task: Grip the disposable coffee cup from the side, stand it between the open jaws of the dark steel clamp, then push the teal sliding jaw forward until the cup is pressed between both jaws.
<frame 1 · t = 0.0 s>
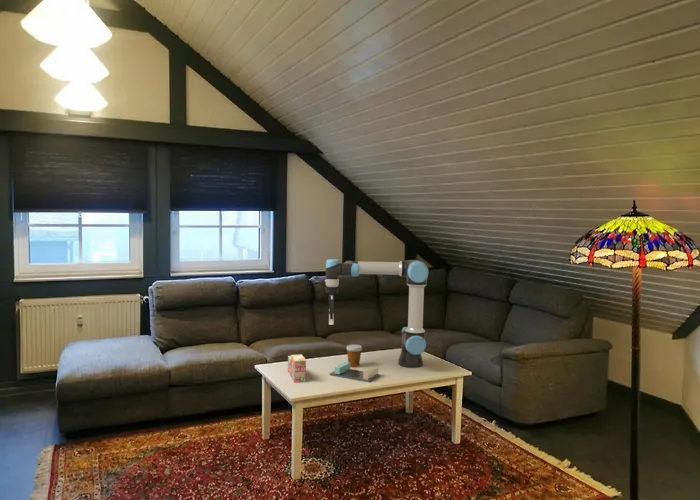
hand: (331, 322, 326), 28 cm above the table, tool pointing down, fingers open, 13 cm apart
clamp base: (358, 376, 316), on the table
stack of blocks: (296, 377, 313), on the table
disposable coffee cup: (353, 366, 337), on the table
sliding jaw: (342, 368, 321), point 3 cm above the table, slide at 5.0 cm
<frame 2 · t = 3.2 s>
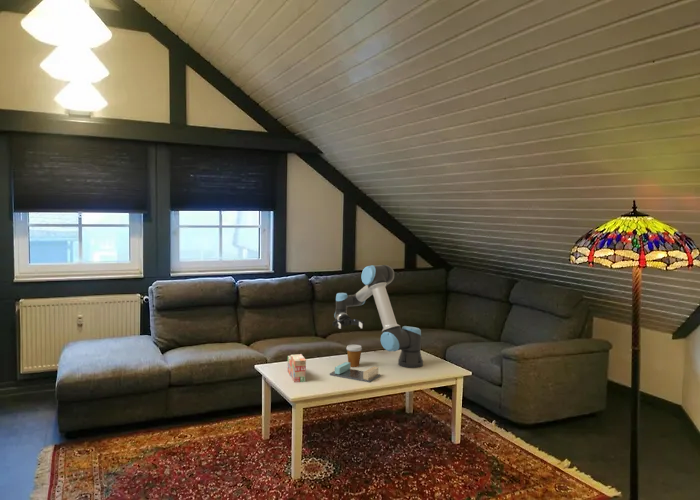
hand: (351, 326, 344), 22 cm above the table, tool horizontal, fingers open, 13 cm apart
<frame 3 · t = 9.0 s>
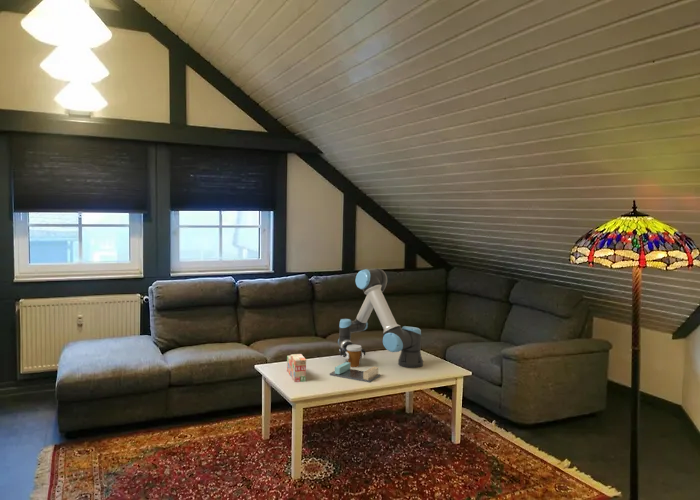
hand: (355, 356, 332), 7 cm above the table, tool horizontal, fingers closed on disposable coffee cup, 8 cm apart
disposable coffee cup: (353, 366, 337), on the table, touching gripper
when the fingers open (10 cm above the table, at t = 17.9 s): disposable coffee cup drops 2 cm, resting on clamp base.
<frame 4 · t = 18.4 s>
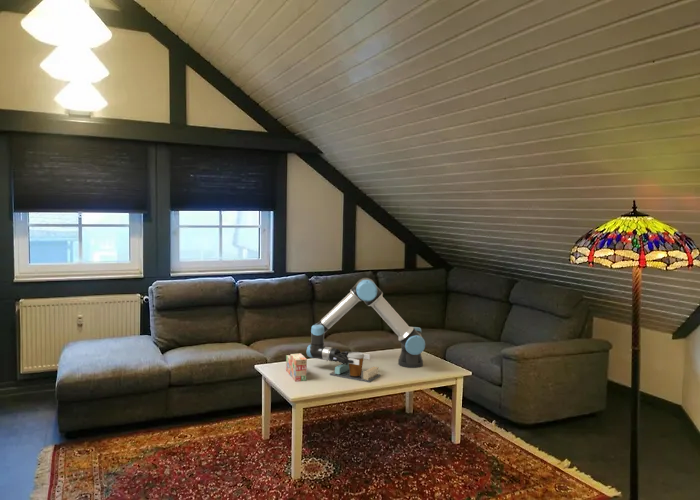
hand: (364, 359, 314), 10 cm above the table, tool horizontal, fingers open, 13 cm apart
disposable coffee cup: (355, 375, 314), point 1 cm above the table, touching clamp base, gripper
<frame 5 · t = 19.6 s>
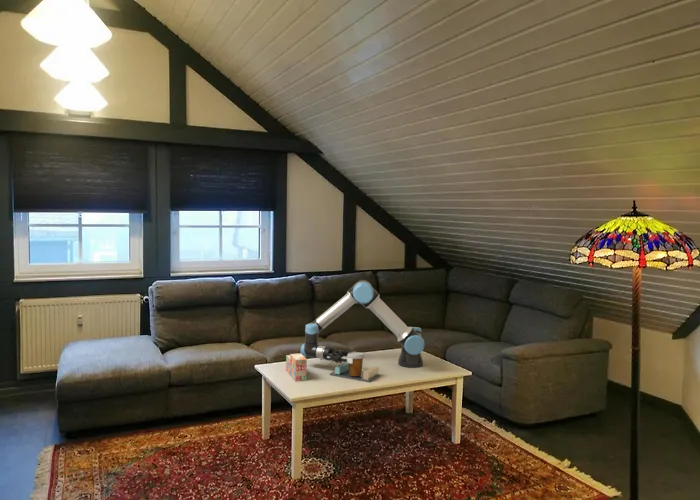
hand: (358, 358, 315), 10 cm above the table, tool horizontal, fingers open, 13 cm apart
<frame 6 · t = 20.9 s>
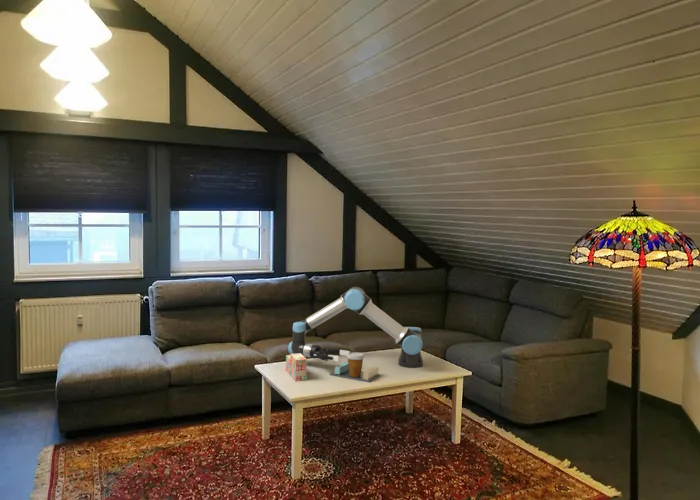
hand: (344, 356, 320), 10 cm above the table, tool horizontal, fingers open, 13 cm apart
disposable coffee cup: (355, 375, 314), point 1 cm above the table, touching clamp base
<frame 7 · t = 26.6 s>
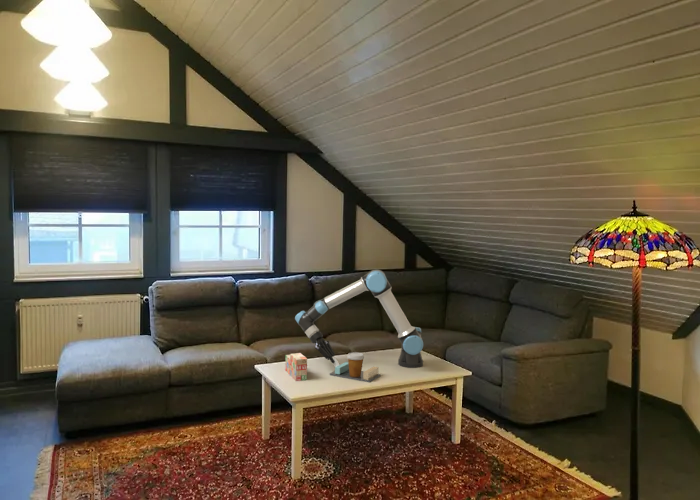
hand: (338, 366, 322), 3 cm above the table, tool tilted 45°, fingers closed
sliding jaw: (342, 368, 321), point 3 cm above the table, slide at 4.9 cm, touching gripper
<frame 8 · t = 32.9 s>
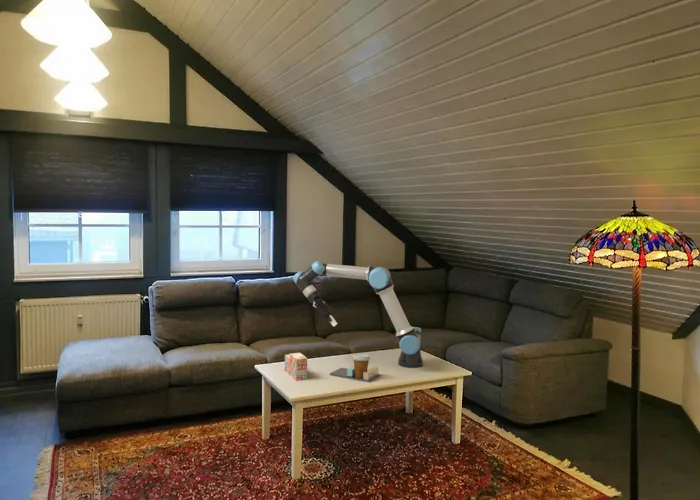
hand: (335, 325, 328), 26 cm above the table, tool tilted 45°, fingers closed
disposable coffee cup: (360, 376, 312), point 1 cm above the table, touching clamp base, sliding jaw
sliding jaw: (354, 370, 317), point 3 cm above the table, slide at -2.9 cm, touching disposable coffee cup
at the end: disposable coffee cup inside the target area on the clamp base (3.5 cm from its centre), point 0.8 cm above the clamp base's base; sliding jaw slide at -2.9 cm; disposable coffee cup touching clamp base, sliding jaw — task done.
